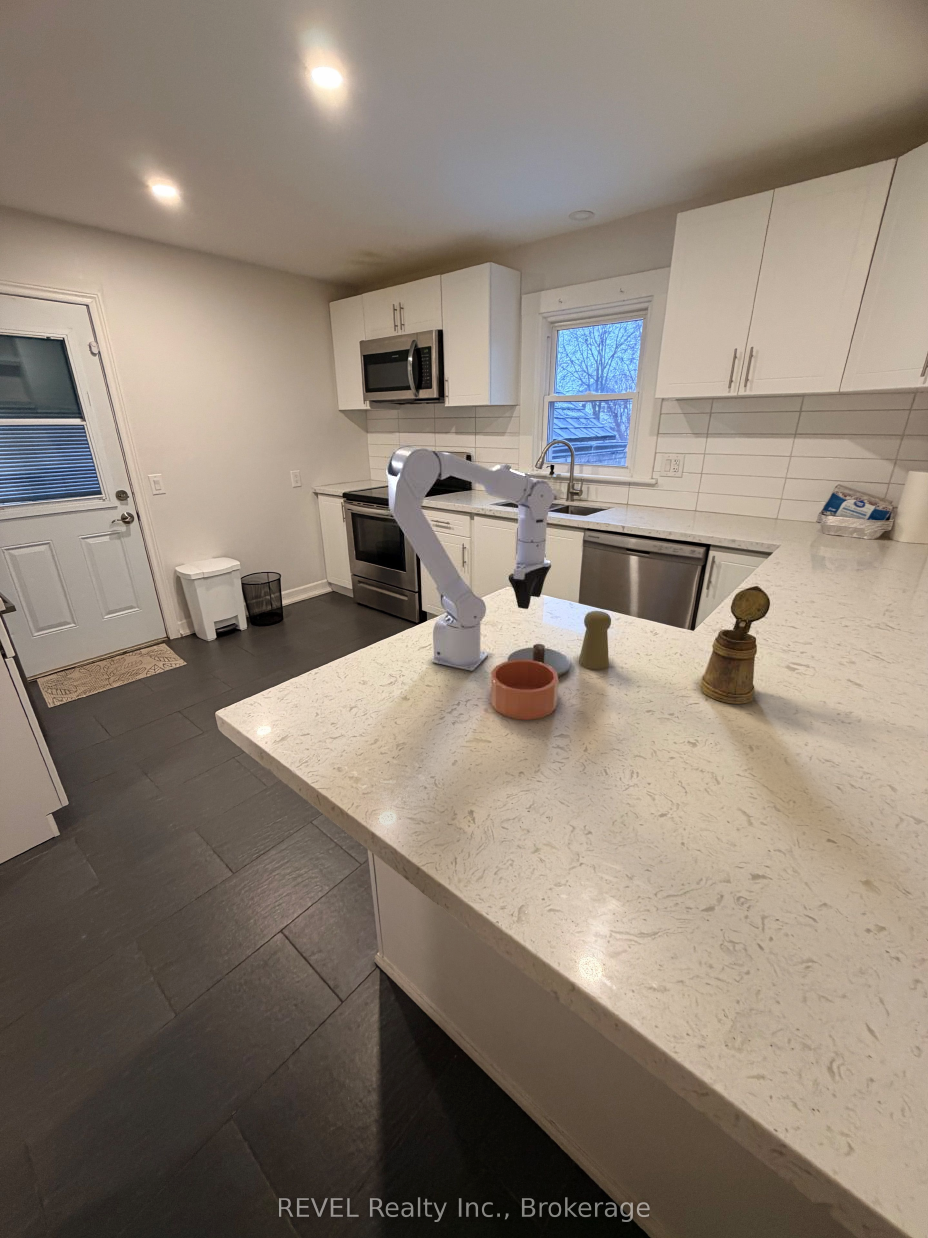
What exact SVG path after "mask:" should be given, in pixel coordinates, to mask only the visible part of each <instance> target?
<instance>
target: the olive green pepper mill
mask: <svg viewBox="0 0 928 1238" xmlns="http://www.w3.org/2000/svg"><path fill="white" fill-rule="evenodd" d="M583 621H584V622H583V624H584V627H585V632H584V637H583V641H582V645H581V649H580V654H579V659H578V664H579V665H580V666H582V668H583V667H584V668H585V669H589V670H604V669H606V668H608V667H609V665H610V662H609V661H610V660H609V659H610V658H609V638H608V637H609V635H608V634H609V633H608V630H609V629H610V627H611V625H612V618H611V616H610V614H608V612H605V611H602V610H592V611H589V612H587V613H586V614H585V616H584V619H583Z"/></svg>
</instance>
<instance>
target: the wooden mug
mask: <svg viewBox="0 0 928 1238" xmlns="http://www.w3.org/2000/svg"><path fill="white" fill-rule="evenodd" d="M770 607H771V600H770V597H769V595H768V593H766V591H764V590H763V589H762V588H761V587H759V586H758V585H754V586H750V587H748V588H745V589H742V590H740V591H738V592H736V593H735V595H734V597H733V598H732V602H731V605H730V612H731V614H732V616H733V617H734V619H735V623H734V625H733V628H732V629H721V630H719V632H718V633H717V636H716V637H715V638H714V639H713V643H712V645H711V648H712V651H711V654H710V656H709V659H708V663H707V665H706V667H705V670H704V673H703V674H702V676H701V679H700V683H699V688H700V690H701V692H702V693H704V694H705V695H706V696H708V697H710V698H712V699H714V700H716V701H719V702H723V703H727V704H738V705H740V704H747V703H750V702H752V701H753V699H754V697H755V695H754V694H755V685H754V676H755V675H754V674H755V659H756V655H757V653H758V644H757V637H756V636H755V635H752V634H750V630H751V628H752V624H753V623H754V622H757V621H759V620H761V619H764V618H765V617H766V615H767V614H768V613H769V611H770Z"/></svg>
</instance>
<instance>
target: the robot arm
mask: <svg viewBox="0 0 928 1238" xmlns="http://www.w3.org/2000/svg"><path fill="white" fill-rule="evenodd" d="M385 472H386V477H387V483H388V485H387V486H388V488H387V489H388V509H389V511H390V514H391V515H392V517H393V518H394V520H395V522H396V524H397V525H398V526H399V528H400V529H401V531H402V532H403V534H404V536H405V537H406V539H407V541H408V542H409V544H410V545H411V547H412V548H413V550H414V551H415V553H416V555H417V556H418V559H420V561H421V563H422V564H423V566H424V568H425V569H426V571H427V572H428V574H429V575H430V577H431V579H432V580H433V582H434V583H435V585H436V588H435V589H436V591H437V593H438V594H439V602H440V606H441V608H443V610H444V611H445V616H440V617H438V618H437V619H436V621H435V623H434V625H433V629H432V646H433V659H431V661H432V662H431V663H435V664H439V665H444V666H448V667H451V668H452V667H453V668H458V669H462V670H466V671H469V672H470V671H474V670H475V669H476V668H477V667H478V666H479V665H480V664H481V663H482V662H483V661H484V660H485V659H486V658H487V657H488V656H489V653H488V652H486V651H481V647H482V646H481V643H482V642H481V639H482V637H481V635H482V634H481V622H482V620H483V619H484V618H485V616H486V614H487V613H486V612H487V605H486V602H485V601H484V600H483V598H482V597H479V595H476V594H475V593H474V591H473V589H472V588H471V587H470V586H469V584H468V583H467V582H466V581H465V580H464V579H463V578H462V576H461V575H460V573H459V571H458V569H457V568H456V566H455V564H454V563H453V561H452V559H451V558H450V556H449V554H448V553H447V551H446V549H445V547H444V546H443V544H442V543H441V540H440V539H439V537H438V536H437V534H436V532H435V531H434V528H433V527H432V526H431V524H430V521H429V520H428V519H427V517H426V515H425V514H424V511H423V510H422V505H423V503H424V499H425V497H426V495H427V493H428V492H429V491H430V490H431V488H432V487H433V485H434V484H435V482H436V481H437V480H438V479H439V480H444V479H446V478H449V477H450V476H452V477H455V478H457V479H461V480H464V481H468V482H472V483H474V484H478V485H481V486H483V488H484V490H485V493H486V494H487V495H488V496H491V497H492V498H493V497H494V498H496V499H497V498H498V499H500V500H503V501H506V502H509V503H511V504H515V505H517V506H518V509H517V543H516V544H517V545H516V547H517V548H516V559H515V568H513V573H510V574H509V575H508V582H509V583H510V585H511V587H512V590H513V592H514V596H515V600H516V604H517V608H518V609H525V610H528V609H529V607H530V605H531V599H532V597H533V598H540V597H541V595H542V591H543V589H544V584H545V581H546V578H547V576H548V573H549V572H550V570H551V568H552V564H551V561H550V560H547V552H546V547H547V545H546V543H547V542H546V541H547V523H548V516H549V509H550V507H551V506H552V504H553V502H554V499H555V494H554V493H553V490H552V486H551V485H550V483H549V482H548V481H546V480H543V479H537V478H533V477H532V474H531V473H529V472H524V473H522V472H519V471H516V470H514V469H512V465H511V464H507V463H502V464H501V465H500V464H496V465H494V466H493V467H490V468H488V467H485V466H482V465H479V464H477V463H475V462H472V461H470V460H468V459H465V458H462V457H460V456H458V455H455V454H452V453H450V452H443V451H436V450H432V449H431V450H430V449H429V448H425V447H413V446H411V445H401V446H398V447H397V448H396V449H394V451H392V453H391V455H390V458H389V460H388V463H387V466H386V470H385Z"/></svg>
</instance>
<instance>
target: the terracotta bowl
mask: <svg viewBox="0 0 928 1238" xmlns="http://www.w3.org/2000/svg"><path fill="white" fill-rule="evenodd" d="M490 672H491V676H490V695H491V696H490V702H491V705H492V707H493V708H494V709H495V711H496V712H498V713H499V714H502V715H503V716H505V717H508V718H511V719H515V720H523V721H524V720H526V721H527V720H537V719H542V718H544V717H546V716H548V715H551V714H552V713H553V712H554V711H555V709H556V707H557V704H558V693H559V676H558V674H557V672H556V671H555V670H554V669H553V668H552V667H551V666H548V665H546V664H544V663H542V662H538V661H533V660H512V661H504V662H501V663H498V664H497V665H495V667H494V668H493V669H492V670H491V671H490Z"/></svg>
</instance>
